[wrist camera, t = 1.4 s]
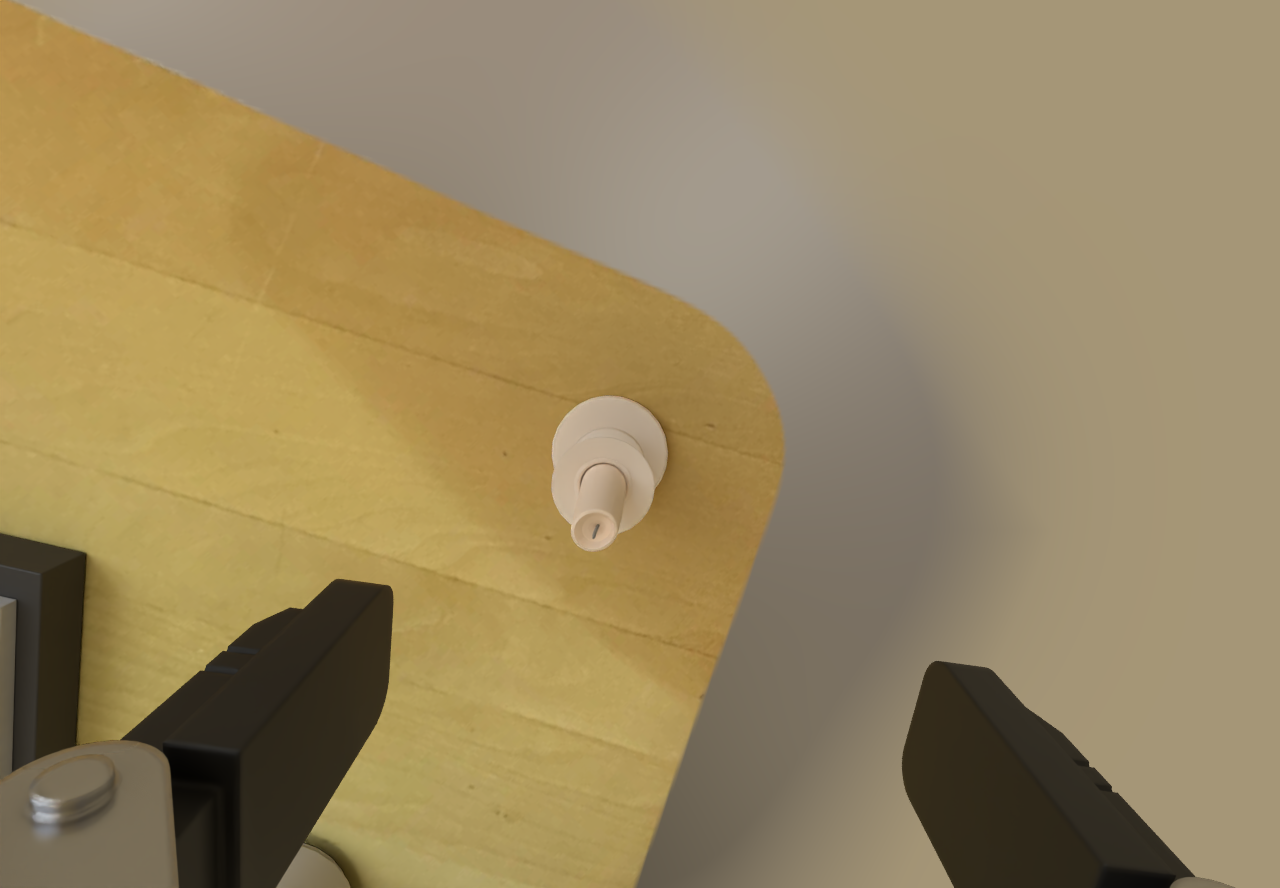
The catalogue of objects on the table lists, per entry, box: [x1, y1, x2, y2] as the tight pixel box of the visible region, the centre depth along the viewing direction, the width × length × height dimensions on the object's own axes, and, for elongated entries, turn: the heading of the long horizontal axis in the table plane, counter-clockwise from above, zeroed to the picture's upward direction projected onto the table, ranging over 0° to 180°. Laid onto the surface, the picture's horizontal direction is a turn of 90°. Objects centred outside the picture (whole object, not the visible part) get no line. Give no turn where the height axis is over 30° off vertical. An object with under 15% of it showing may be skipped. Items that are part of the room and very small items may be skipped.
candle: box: [551, 395, 668, 551], centre depth 25 cm, size 5×5×10 cm
